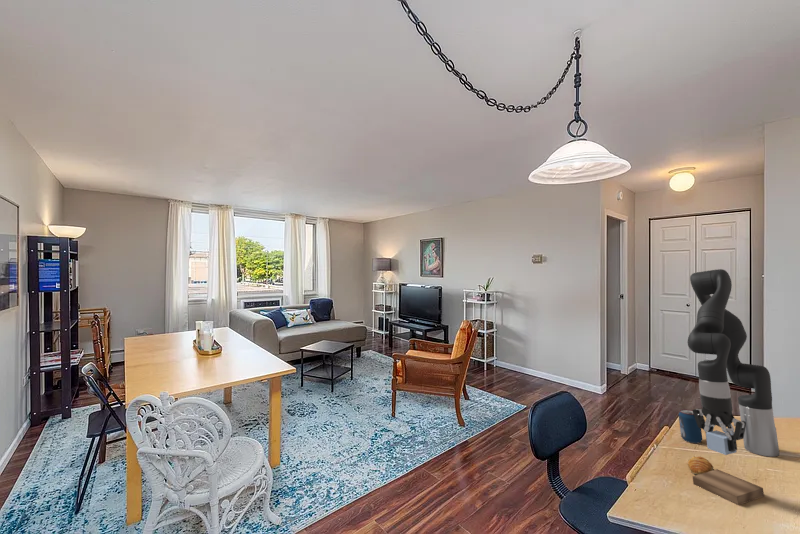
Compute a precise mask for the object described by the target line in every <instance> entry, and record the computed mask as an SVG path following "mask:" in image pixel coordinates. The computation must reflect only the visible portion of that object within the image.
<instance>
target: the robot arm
mask: <svg viewBox="0 0 800 534" xmlns="http://www.w3.org/2000/svg"><path fill="white" fill-rule="evenodd" d="M689 280H690V284H691V287H692V289H693V292H694V294H695V296H696V297H697V300H698V301H699V302H700V303H699V304H700V305H701V306H700V307H699V309H698V311H697V314H696V324H695V326H694V327H693V329H692V330H691V331H690V333H689V335H688V336H687V346H688V349H690V351H691V352H693V353H696V354H701V355H716V358H715V359H709V360H701V361H698V363H697V372H698V373H697V374H698V388H699V396H700V403H701V404H700V405H701V408H695V409H691V410H692V411H693V414H694V417H695V420H696V423H697V425H698V427H699V428H701V430H703V432H704V433H705V434H706V433H707V432H711V431H714V429H715V426H717V427H719V428H721V432H723V433H725V434H726V436H727V438H728V439H727V442H728V450H729V451H730V452H734V451H735V450H736V451H738V444H737V441H739V440H743V447H744V450H746V451H747V452H750V453H753V454H755V455H759V456H762V457H763V456H764V457H772V458H773V457H778V456H780V448H779V442H778V441H779V439H778V433H777V427H776V423H775V417H774V410H773V393H772V381H771V379H772V378H771V373H770V372H769V370H768V369H767V367H765V366H763V365H758V364H750V363H743V362H741V361H740V360H741V359H740V358H739V355H740V354H739V353H740V351H741V350H742V349H743V347H744V345H745V343H746V341H747V338H748V335H747V332H746V329H745V327H744V324H743V322H742V321H741V319H740V318H739V317H738V316H736V315H735V314H734V313H733V312H731V311H730V310H727V309H726V307H727V305H728V301H729V299H730V295H731V292H732V287H733V286H732V285H733V284H732V278H731V277H730V274H729V272H727V270H726V269H722V268H720V269H719V268H718V269H712V270H705V271H699V272H693V273H691V275H690V277H689ZM728 377H729V379H730V381H731V382H732V384H734V385H736V386H738V387H742V388H748V389H754V393H752V394H743V395H739V396H737V401H738V402H737V403H738V407H739V408H738V410H739V416H740V420H739V419H738V418H735V416H734V415H733V404H732V402H733V401H732V395H731V388H730V384H729V381H728ZM705 418H706V419H705ZM732 423H733V424H732ZM734 427H735V428H734ZM705 439H706V438H705ZM706 441H707V439H706Z"/></svg>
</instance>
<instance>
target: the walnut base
mask: <svg viewBox="0 0 800 534" xmlns="http://www.w3.org/2000/svg"><path fill="white" fill-rule="evenodd" d="M692 482H693V483H692V484H693V485H694V486H696V487H698V486H699V487H698V488H700V487H701V489H703V490H705V491H707V492H709V493H710V494H711V493H712V494H713V495H715V496H717V495H718V496H717V497H719V496H720V498H722V499H724V500H726V501H728V502H730V503H733V504H735V505H736V506H740V505H743V504H745V503H749V502H752V501H755V500H758V499H760V498H763V497H765V493H764V488H763V487H762V486H759V485H757V484H755V483H752V482H749V481H747V480H745V479H742V478H740V477H737V476H735V475H732V474H730V473H728V472H725V471H723V470H721V469H718V468H716V469H713V471H709V472H706V473H702V474H699V475H697V474H694V475H692Z"/></svg>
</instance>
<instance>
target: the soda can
mask: <svg viewBox="0 0 800 534" xmlns="http://www.w3.org/2000/svg"><path fill="white" fill-rule="evenodd" d="M692 410H693V409H685V408H683V409H680V410H679V413H678V420H679V421H678V422H679V430H680V437H681V438H682V439H683V441H684V442H686V443H691V444H701V443H702V441H703V434H702V433H703V432H702V428H699V427H698V425H697V423H696V420H695V417H694V414H693V411H692Z"/></svg>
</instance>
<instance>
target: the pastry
mask: <svg viewBox="0 0 800 534" xmlns="http://www.w3.org/2000/svg"><path fill="white" fill-rule="evenodd" d="M687 466H688V469H689V471H690V473H692V474H693V475H699V474H702V473H706V472H709V471H713V470H714V466H713V464H712V463H711V462H710V461H709V459H708V458H705V457H703V456H701V455H700V456H693V457H691V458H690V459H689V460H688V461H687Z"/></svg>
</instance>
